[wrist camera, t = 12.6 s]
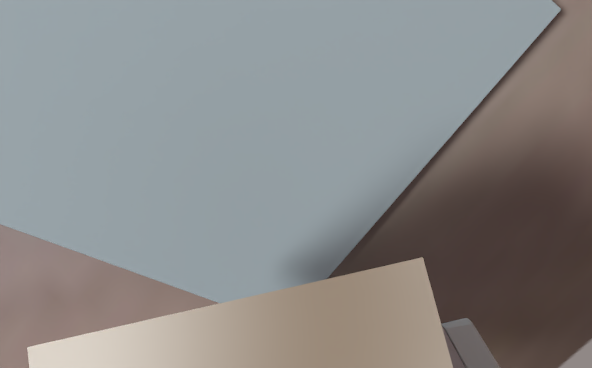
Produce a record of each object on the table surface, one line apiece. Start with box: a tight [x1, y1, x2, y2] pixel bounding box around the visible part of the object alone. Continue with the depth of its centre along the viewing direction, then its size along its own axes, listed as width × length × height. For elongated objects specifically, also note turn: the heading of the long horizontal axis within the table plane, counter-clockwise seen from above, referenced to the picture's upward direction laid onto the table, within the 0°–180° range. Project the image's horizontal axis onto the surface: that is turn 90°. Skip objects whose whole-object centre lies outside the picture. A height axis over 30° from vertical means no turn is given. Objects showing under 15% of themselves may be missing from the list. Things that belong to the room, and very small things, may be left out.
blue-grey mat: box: [0, 0, 561, 303], centre depth 14 cm, size 16×14×1 cm
